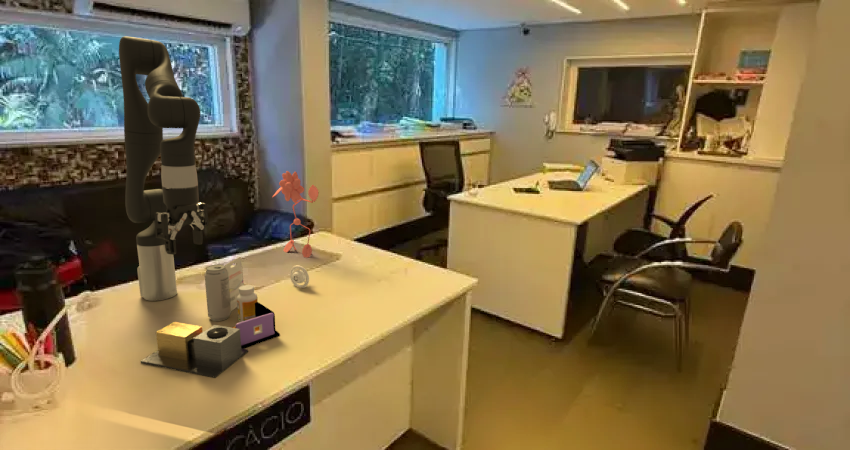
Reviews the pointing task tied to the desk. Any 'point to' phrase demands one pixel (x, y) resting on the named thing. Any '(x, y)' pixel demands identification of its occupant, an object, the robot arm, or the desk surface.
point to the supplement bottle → (246, 303)
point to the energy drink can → (217, 292)
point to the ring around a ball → (299, 276)
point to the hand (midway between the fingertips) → (185, 248)
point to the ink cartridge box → (235, 280)
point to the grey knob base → (205, 353)
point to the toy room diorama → (258, 327)
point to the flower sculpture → (293, 191)
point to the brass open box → (176, 339)
